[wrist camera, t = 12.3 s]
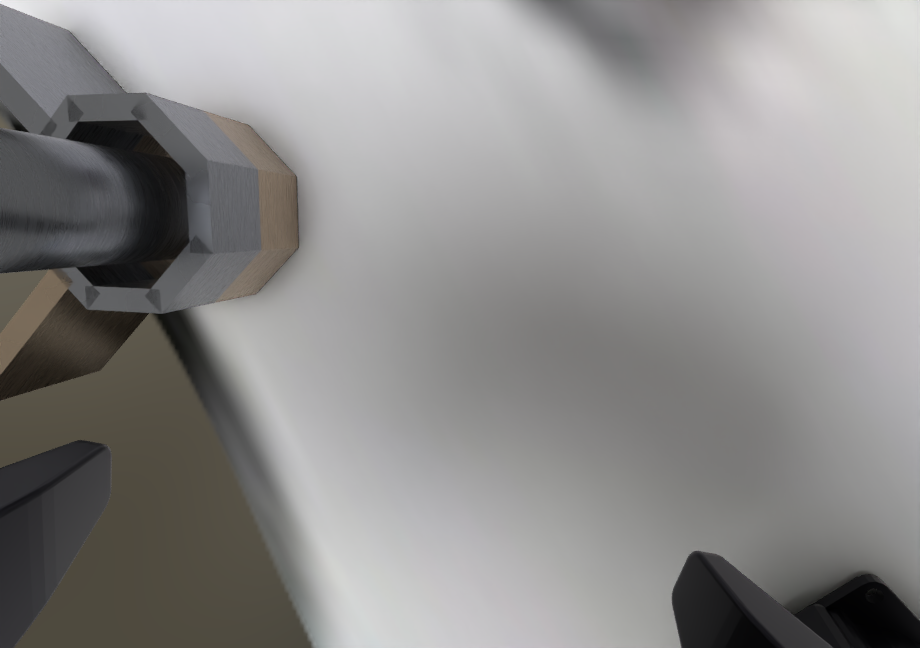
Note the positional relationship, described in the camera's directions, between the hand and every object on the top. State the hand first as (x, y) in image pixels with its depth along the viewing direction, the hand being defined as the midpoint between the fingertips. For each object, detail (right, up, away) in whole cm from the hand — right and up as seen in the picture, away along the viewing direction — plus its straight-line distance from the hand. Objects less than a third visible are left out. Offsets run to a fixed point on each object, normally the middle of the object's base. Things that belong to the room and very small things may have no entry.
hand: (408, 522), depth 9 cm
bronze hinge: (-12, +7, +13) cm, 19 cm away
